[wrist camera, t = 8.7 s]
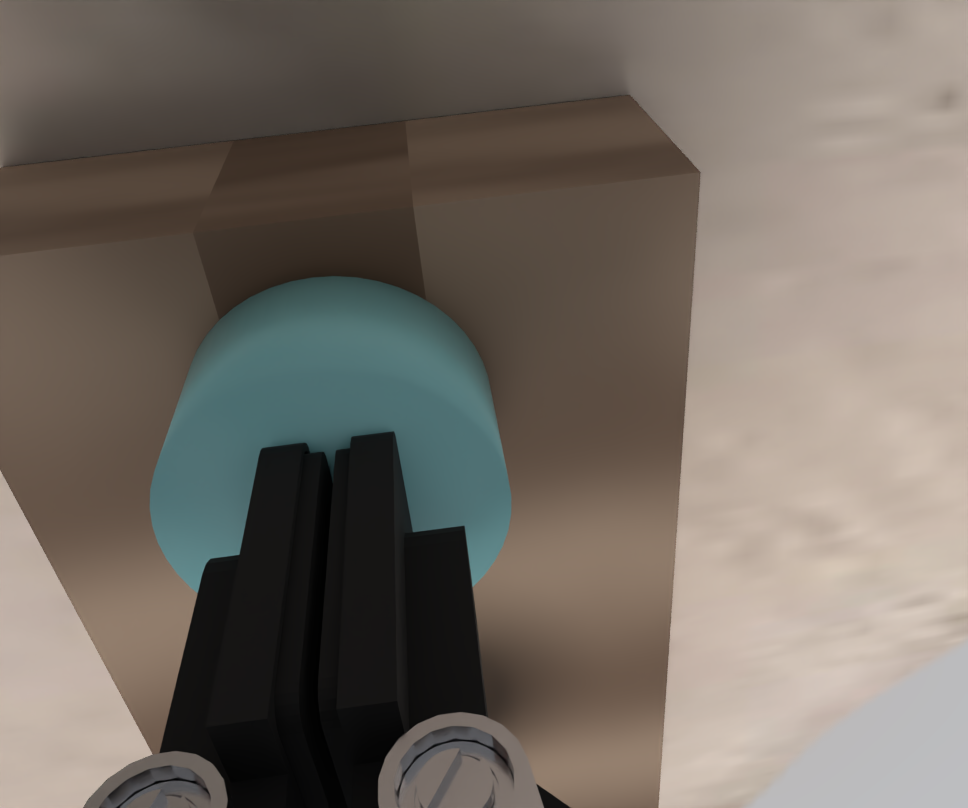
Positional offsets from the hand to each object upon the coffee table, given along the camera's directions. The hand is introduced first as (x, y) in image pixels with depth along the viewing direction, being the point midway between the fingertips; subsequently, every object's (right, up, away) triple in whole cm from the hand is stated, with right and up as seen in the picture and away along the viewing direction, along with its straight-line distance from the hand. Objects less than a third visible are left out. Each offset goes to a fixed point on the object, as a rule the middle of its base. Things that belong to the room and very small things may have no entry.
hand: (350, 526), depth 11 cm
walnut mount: (0, -3, +10) cm, 10 cm away
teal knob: (-1, +4, +5) cm, 6 cm away
